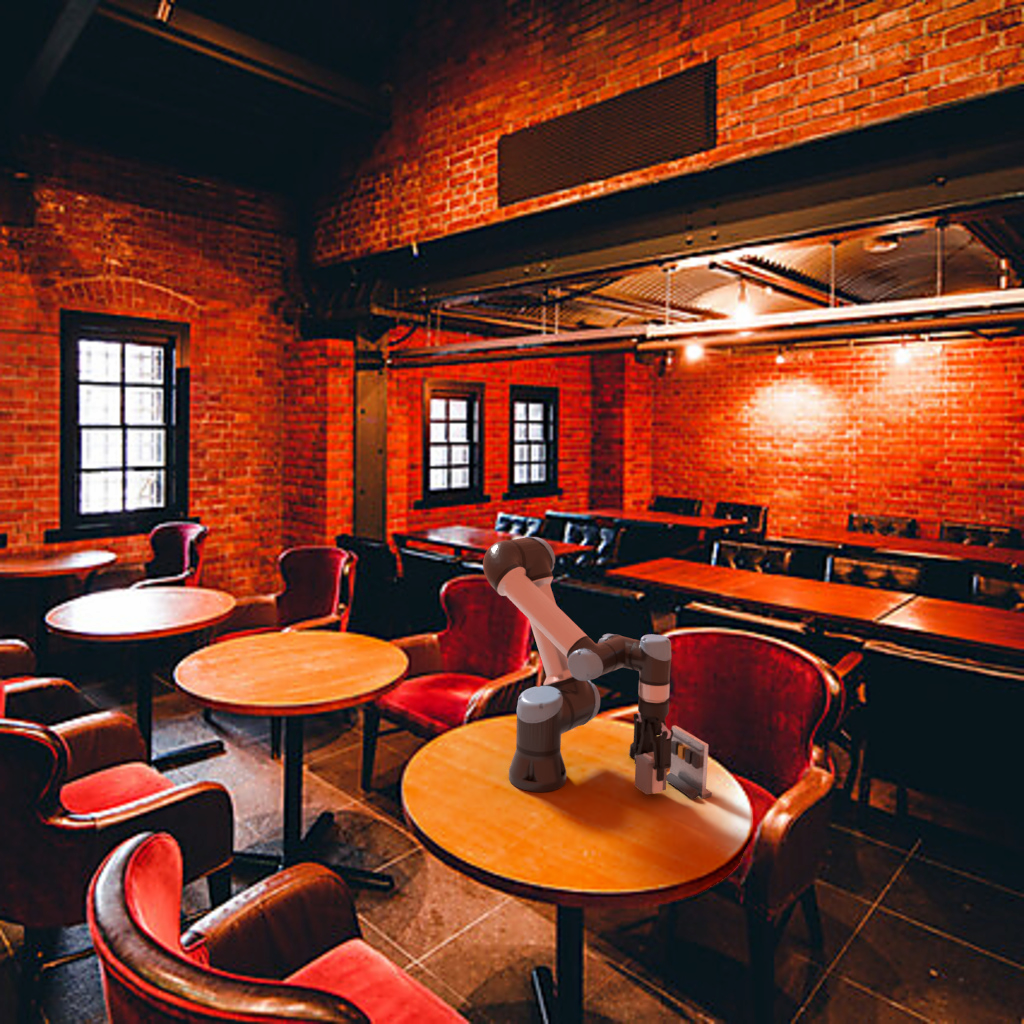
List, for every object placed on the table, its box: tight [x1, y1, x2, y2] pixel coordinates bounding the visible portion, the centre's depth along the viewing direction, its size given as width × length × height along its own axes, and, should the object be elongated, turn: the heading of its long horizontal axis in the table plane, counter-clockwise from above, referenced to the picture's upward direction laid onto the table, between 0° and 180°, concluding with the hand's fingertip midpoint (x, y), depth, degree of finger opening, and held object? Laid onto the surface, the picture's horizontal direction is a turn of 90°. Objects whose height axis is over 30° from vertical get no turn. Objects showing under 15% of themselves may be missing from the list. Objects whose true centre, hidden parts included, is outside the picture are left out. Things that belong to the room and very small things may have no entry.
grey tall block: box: [634, 752, 668, 795], centre depth 185 cm, size 7×5×9 cm
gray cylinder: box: [666, 772, 699, 800], centre depth 188 cm, size 10×2×2 cm, turn 26°
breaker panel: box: [669, 725, 713, 799], centre depth 190 cm, size 4×13×14 cm, turn 26°
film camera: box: [628, 740, 654, 765], centre depth 206 cm, size 13×8×10 cm
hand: (650, 786), depth 185 cm, fingers closed on grey tall block, 5 cm apart
